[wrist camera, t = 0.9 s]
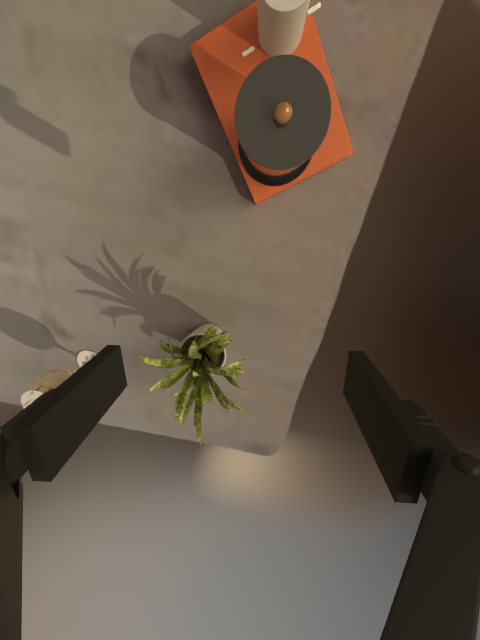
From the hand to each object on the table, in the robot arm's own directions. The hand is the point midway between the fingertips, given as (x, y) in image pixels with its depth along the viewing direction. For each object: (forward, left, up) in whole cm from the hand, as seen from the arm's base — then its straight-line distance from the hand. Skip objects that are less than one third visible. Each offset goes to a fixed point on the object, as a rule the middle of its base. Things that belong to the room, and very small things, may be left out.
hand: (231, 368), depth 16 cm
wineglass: (+2, -32, -27) cm, 42 cm away
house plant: (+8, -10, -27) cm, 30 cm away
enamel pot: (-14, +10, -25) cm, 30 cm away
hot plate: (-18, +11, -27) cm, 34 cm away
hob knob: (-23, +14, -25) cm, 37 cm away
